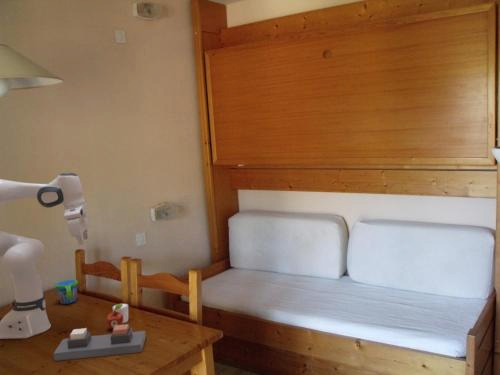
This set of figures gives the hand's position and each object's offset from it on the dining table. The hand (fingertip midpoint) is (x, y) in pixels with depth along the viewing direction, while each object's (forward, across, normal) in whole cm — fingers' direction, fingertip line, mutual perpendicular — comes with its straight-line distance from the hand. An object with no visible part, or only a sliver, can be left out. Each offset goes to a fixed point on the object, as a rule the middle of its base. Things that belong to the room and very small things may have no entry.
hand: (83, 241), depth 212 cm
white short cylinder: (+39, -2, +7) cm, 40 cm away
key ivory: (+32, +25, -4) cm, 41 cm away
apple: (+39, +6, +6) cm, 40 cm away
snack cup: (+36, -37, -24) cm, 57 cm away
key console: (+38, +26, +4) cm, 46 cm away
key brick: (+34, +26, +12) cm, 44 cm away
